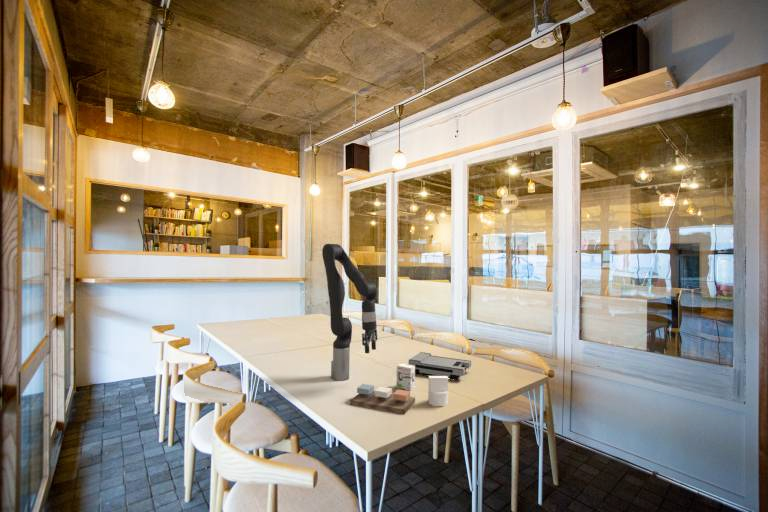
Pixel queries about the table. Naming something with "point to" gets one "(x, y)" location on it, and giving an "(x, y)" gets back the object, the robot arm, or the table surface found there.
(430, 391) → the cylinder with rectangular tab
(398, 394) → the rust key
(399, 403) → the key panel
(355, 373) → the table surface
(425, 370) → the game console
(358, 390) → the slate-blue key
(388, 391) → the off-white key
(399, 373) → the ink box
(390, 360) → the table surface
